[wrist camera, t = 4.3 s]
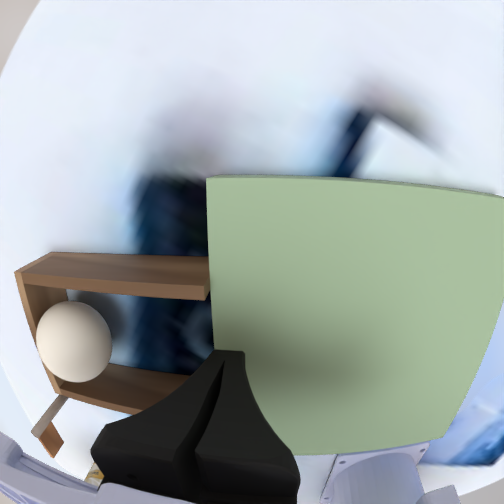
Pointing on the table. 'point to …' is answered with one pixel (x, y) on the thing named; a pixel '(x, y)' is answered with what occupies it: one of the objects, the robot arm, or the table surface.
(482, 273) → the green
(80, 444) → the table surface
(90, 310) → the ball
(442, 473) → the table surface
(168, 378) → the open wooden cubby
